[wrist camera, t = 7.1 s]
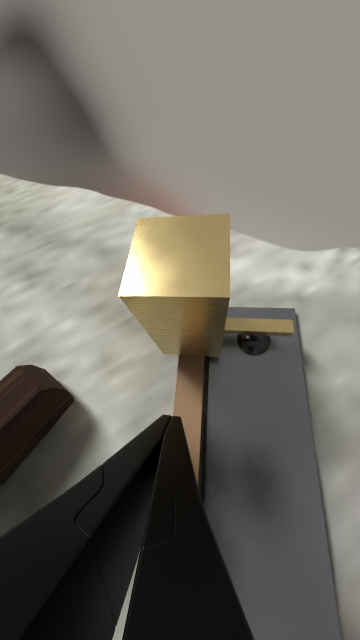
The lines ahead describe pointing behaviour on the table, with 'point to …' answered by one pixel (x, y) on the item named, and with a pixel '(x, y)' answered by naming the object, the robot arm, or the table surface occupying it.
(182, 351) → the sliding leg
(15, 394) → the hammer
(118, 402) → the table surface
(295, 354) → the bolt strip
